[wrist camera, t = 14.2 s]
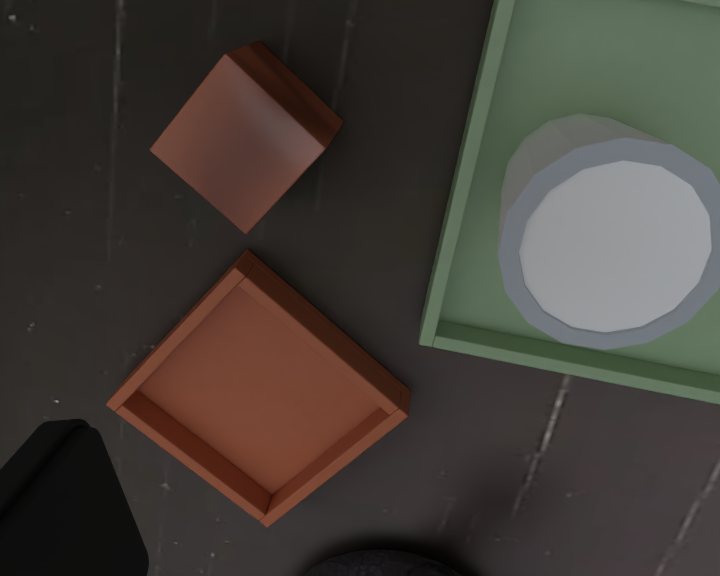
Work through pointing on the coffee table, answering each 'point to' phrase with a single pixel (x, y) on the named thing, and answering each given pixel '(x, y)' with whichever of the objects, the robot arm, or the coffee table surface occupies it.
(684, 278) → the grey tapered cup
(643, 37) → the sage tray
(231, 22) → the coffee table surface
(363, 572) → the teapot
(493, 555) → the coffee table surface
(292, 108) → the block
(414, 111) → the coffee table surface
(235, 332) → the terracotta tray
